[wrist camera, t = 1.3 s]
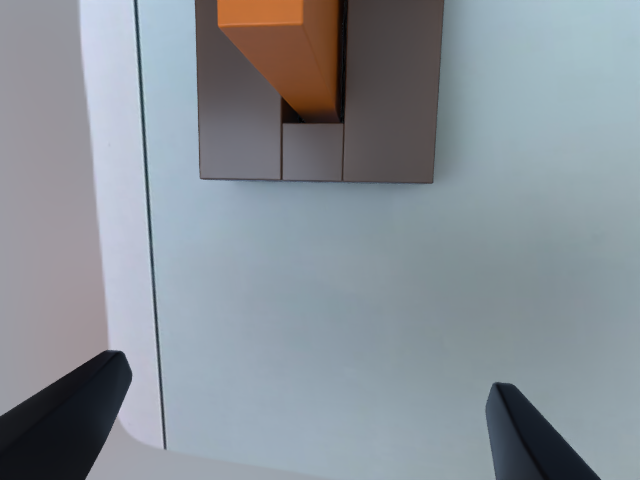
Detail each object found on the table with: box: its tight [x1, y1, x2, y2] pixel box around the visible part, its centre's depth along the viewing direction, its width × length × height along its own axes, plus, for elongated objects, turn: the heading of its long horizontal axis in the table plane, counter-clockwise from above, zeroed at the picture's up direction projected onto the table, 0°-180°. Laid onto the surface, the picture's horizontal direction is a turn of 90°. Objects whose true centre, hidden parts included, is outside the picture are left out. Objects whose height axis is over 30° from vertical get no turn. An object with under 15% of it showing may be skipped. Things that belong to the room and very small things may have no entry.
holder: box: [195, 0, 444, 184], centre depth 17 cm, size 10×12×4 cm
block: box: [217, 0, 344, 123], centre depth 13 cm, size 2×6×12 cm, turn 179°
